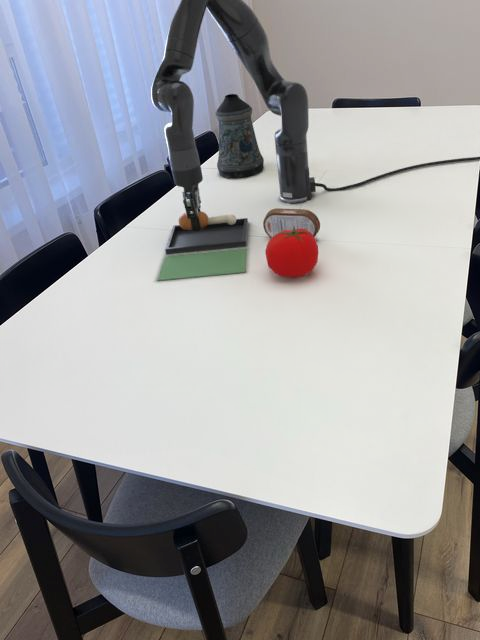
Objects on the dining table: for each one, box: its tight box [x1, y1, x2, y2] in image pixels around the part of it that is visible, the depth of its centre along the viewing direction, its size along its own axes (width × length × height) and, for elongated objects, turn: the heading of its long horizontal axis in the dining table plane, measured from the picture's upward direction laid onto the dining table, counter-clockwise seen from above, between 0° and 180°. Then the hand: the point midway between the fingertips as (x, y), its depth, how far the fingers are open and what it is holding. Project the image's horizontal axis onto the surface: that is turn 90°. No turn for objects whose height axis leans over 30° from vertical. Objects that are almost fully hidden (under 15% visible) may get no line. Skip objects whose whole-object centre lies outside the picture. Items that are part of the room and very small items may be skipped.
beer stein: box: [215, 93, 265, 180], centre depth 197 cm, size 16×19×25 cm
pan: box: [164, 217, 249, 256], centre depth 159 cm, size 22×16×2 cm
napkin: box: [157, 247, 248, 282], centre depth 147 cm, size 22×13×1 cm, turn 89°
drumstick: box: [178, 210, 237, 230], centre depth 156 cm, size 16×5×5 cm, turn 89°
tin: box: [262, 207, 321, 239], centre depth 151 cm, size 15×3×8 cm, turn 71°
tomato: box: [265, 226, 319, 278], centre depth 135 cm, size 13×12×11 cm
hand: (197, 226), depth 157 cm, fingers closed on drumstick, 4 cm apart
